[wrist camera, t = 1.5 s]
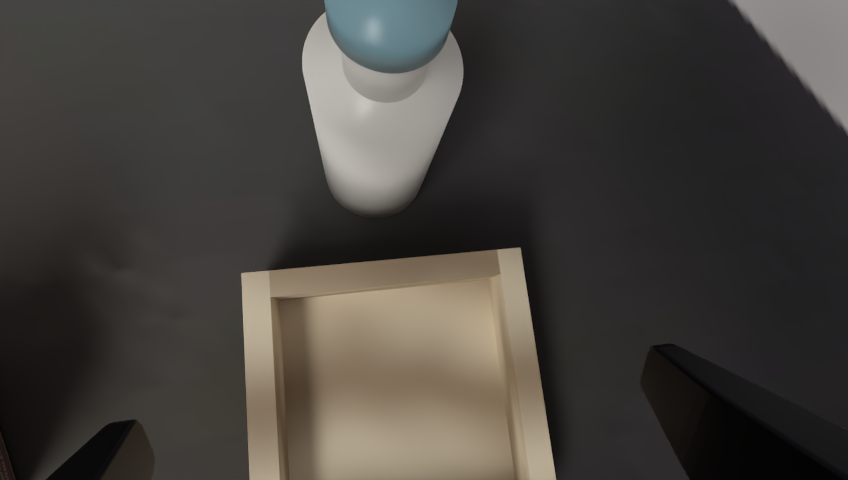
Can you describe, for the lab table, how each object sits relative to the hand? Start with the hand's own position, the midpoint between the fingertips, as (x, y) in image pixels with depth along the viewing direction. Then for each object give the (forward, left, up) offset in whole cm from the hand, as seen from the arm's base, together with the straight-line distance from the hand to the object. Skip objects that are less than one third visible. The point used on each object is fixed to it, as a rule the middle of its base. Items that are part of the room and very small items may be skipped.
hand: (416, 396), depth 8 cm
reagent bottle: (+4, -7, -12) cm, 15 cm away
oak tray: (-1, +1, -12) cm, 13 cm away
